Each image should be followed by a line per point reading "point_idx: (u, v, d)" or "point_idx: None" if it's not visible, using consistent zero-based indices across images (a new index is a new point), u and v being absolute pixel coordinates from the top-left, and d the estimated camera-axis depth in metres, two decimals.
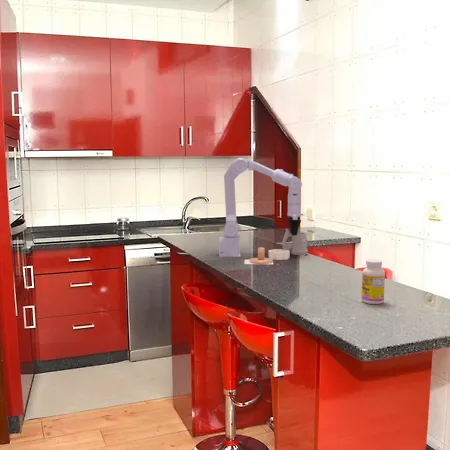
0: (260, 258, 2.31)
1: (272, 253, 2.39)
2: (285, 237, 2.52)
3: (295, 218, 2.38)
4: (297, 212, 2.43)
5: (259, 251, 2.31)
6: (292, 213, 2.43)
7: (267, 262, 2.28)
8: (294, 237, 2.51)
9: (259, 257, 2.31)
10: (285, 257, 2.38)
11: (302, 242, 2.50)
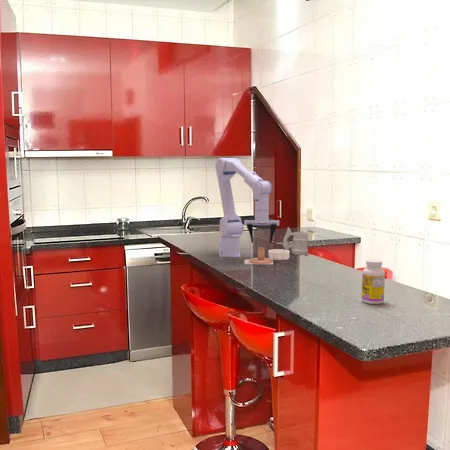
0: (260, 258, 2.31)
1: (272, 253, 2.39)
2: (286, 236, 2.52)
3: (244, 223, 2.31)
4: (255, 218, 2.29)
5: (259, 251, 2.31)
6: None
7: (267, 262, 2.28)
8: (295, 236, 2.51)
9: (259, 257, 2.31)
10: (285, 257, 2.38)
11: (303, 241, 2.50)
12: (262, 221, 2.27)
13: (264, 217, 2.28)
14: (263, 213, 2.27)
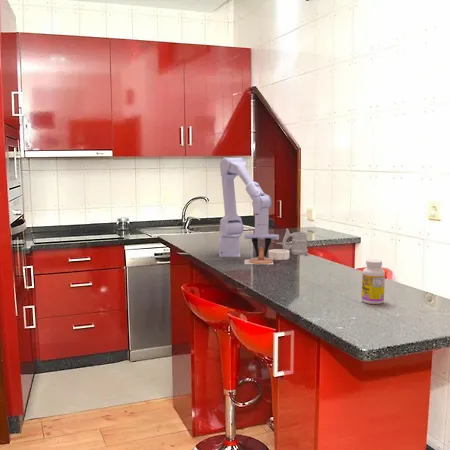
0: (260, 258, 2.31)
1: (272, 253, 2.39)
2: (285, 237, 2.52)
3: (244, 237, 2.31)
4: (255, 233, 2.30)
5: (259, 251, 2.31)
6: None
7: (267, 262, 2.28)
8: (294, 237, 2.51)
9: (259, 257, 2.31)
10: (285, 257, 2.38)
11: (302, 242, 2.50)
12: (262, 235, 2.28)
13: (264, 231, 2.28)
14: (263, 227, 2.28)
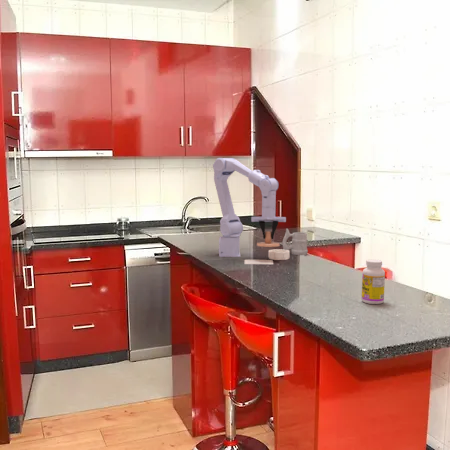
0: (267, 241, 2.34)
1: (272, 253, 2.39)
2: (285, 237, 2.52)
3: (251, 220, 2.34)
4: (262, 215, 2.33)
5: (266, 234, 2.34)
6: None
7: (274, 245, 2.31)
8: (294, 237, 2.51)
9: (266, 241, 2.34)
10: (285, 257, 2.38)
11: (302, 242, 2.50)
12: (269, 218, 2.31)
13: (271, 214, 2.31)
14: (270, 210, 2.31)
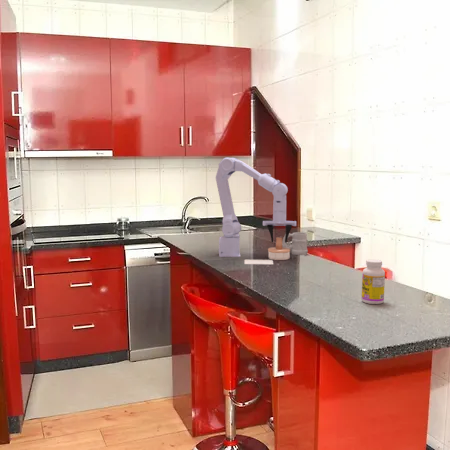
0: (278, 247, 2.40)
1: (272, 253, 2.39)
2: None
3: None
4: (273, 219, 2.39)
5: (277, 240, 2.40)
6: None
7: (284, 251, 2.37)
8: (294, 237, 2.51)
9: (277, 246, 2.40)
10: (285, 257, 2.38)
11: (302, 242, 2.50)
12: (280, 222, 2.37)
13: (282, 218, 2.37)
14: (281, 214, 2.37)
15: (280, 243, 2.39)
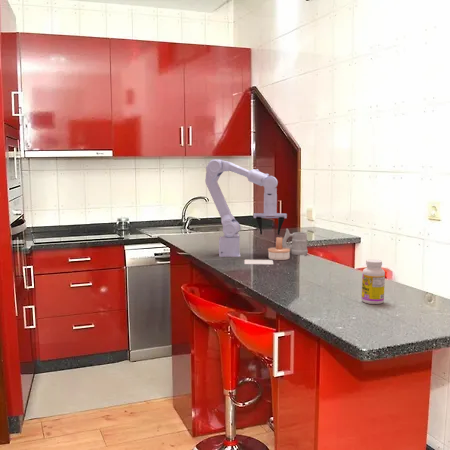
0: (278, 247, 2.40)
1: (272, 253, 2.39)
2: (285, 237, 2.52)
3: None
4: (264, 212, 2.42)
5: (277, 240, 2.40)
6: None
7: (284, 251, 2.37)
8: (294, 237, 2.51)
9: (277, 246, 2.40)
10: (285, 257, 2.38)
11: (302, 242, 2.50)
12: (270, 214, 2.40)
13: (272, 210, 2.40)
14: (271, 206, 2.40)
15: (280, 243, 2.39)
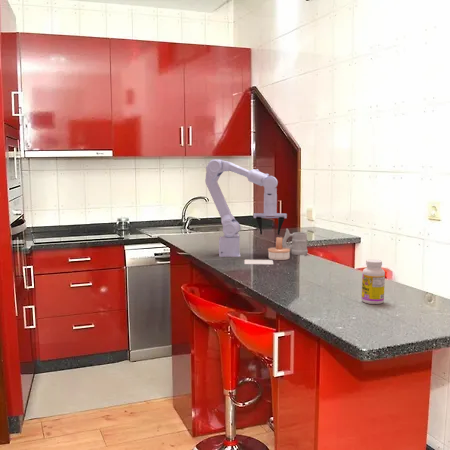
0: (278, 247, 2.40)
1: (272, 253, 2.39)
2: (285, 237, 2.52)
3: None
4: (264, 212, 2.42)
5: (277, 240, 2.40)
6: None
7: (284, 251, 2.37)
8: (294, 237, 2.51)
9: (277, 246, 2.40)
10: (285, 257, 2.38)
11: (302, 242, 2.50)
12: (270, 214, 2.40)
13: (272, 210, 2.40)
14: (271, 206, 2.40)
15: (280, 243, 2.39)
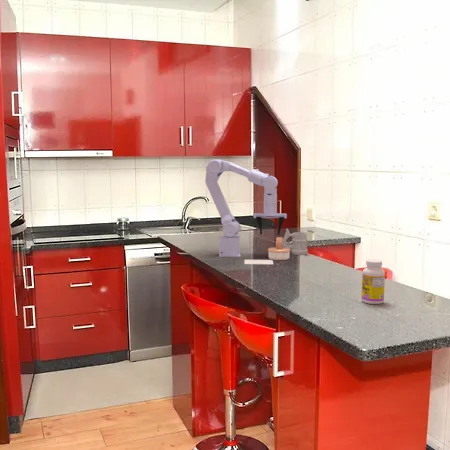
0: (278, 247, 2.40)
1: (272, 253, 2.39)
2: (285, 237, 2.52)
3: None
4: (264, 212, 2.42)
5: (277, 240, 2.40)
6: None
7: (284, 251, 2.37)
8: (294, 237, 2.51)
9: (277, 246, 2.40)
10: (285, 257, 2.38)
11: (302, 242, 2.50)
12: (270, 214, 2.40)
13: (272, 210, 2.40)
14: (271, 206, 2.40)
15: (280, 243, 2.39)
